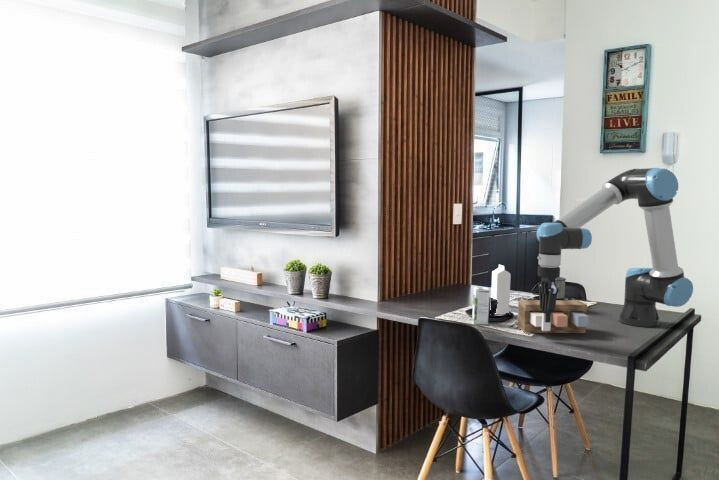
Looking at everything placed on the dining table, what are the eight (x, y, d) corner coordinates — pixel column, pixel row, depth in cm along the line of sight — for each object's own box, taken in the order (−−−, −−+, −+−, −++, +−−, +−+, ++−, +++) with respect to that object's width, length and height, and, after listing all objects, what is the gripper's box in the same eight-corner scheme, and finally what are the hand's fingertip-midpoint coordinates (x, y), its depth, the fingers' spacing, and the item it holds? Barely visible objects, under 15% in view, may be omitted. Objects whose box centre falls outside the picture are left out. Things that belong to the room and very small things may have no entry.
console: (576, 327, 221) (577, 300, 220) (585, 332, 213) (587, 304, 212) (517, 327, 219) (518, 300, 218) (524, 332, 212) (525, 304, 210)
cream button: (537, 320, 214) (537, 310, 214) (546, 326, 205) (546, 316, 205) (527, 320, 214) (527, 310, 214) (535, 326, 205) (536, 316, 205)
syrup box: (471, 321, 229) (472, 286, 227) (486, 321, 228) (487, 286, 227) (474, 324, 223) (475, 289, 222) (488, 324, 223) (490, 289, 221)
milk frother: (568, 311, 249) (570, 279, 247) (537, 313, 245) (539, 280, 243) (550, 305, 262) (552, 274, 261) (520, 306, 258) (522, 274, 257)
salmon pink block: (557, 320, 215) (557, 310, 214) (567, 326, 206) (567, 316, 206) (547, 320, 215) (547, 310, 214) (556, 326, 206) (557, 316, 205)
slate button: (577, 320, 215) (578, 310, 215) (588, 326, 206) (588, 316, 206) (567, 320, 215) (568, 310, 215) (577, 326, 206) (578, 316, 206)
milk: (503, 313, 243) (505, 264, 241) (508, 317, 237) (511, 266, 235) (489, 314, 242) (492, 264, 240) (495, 317, 236) (497, 266, 234)
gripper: (532, 263, 205) (529, 325, 207) (545, 268, 192) (542, 335, 194) (552, 263, 205) (548, 325, 207) (567, 268, 192) (563, 335, 194)
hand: (545, 330), depth 201 cm, fingers closed
